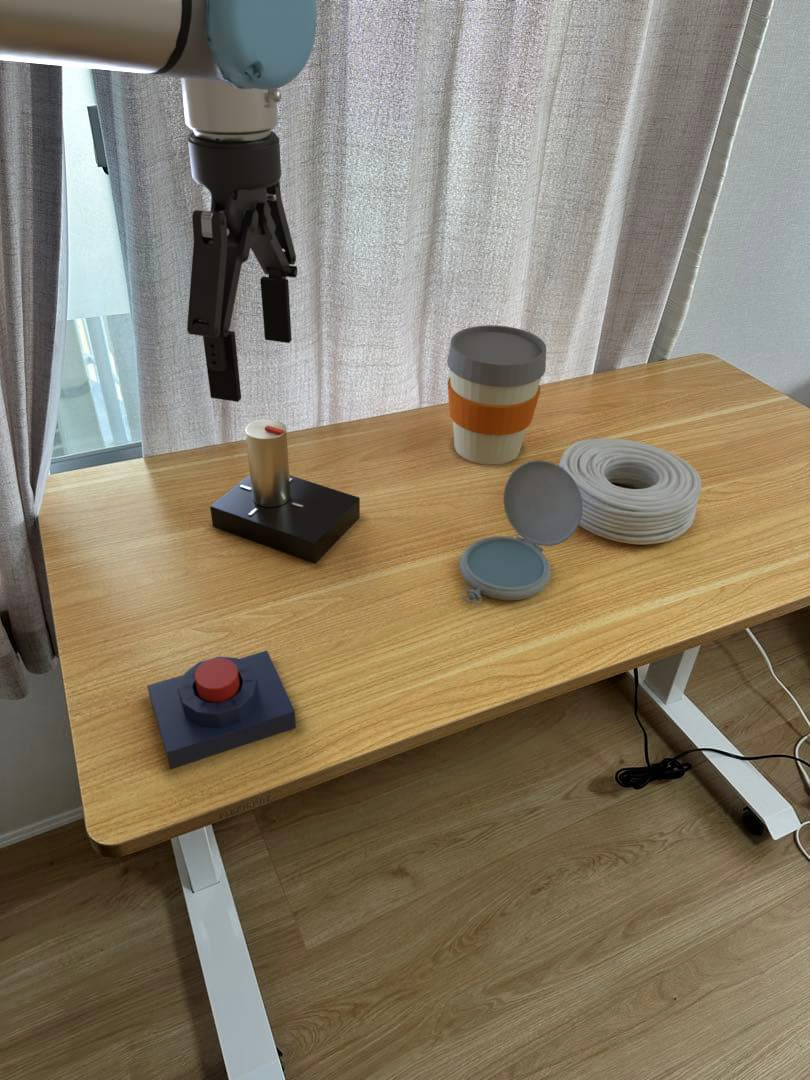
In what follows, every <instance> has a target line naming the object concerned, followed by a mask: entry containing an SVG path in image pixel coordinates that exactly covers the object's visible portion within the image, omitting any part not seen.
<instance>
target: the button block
mask: <svg viewBox="0 0 810 1080" xmlns="http://www.w3.org/2000/svg"><path fill="white" fill-rule="evenodd" d="M215 658H223V659H228V660H230V661H232V662H233V663H234V664H235V665H236V666H237V669H238V676H239V683H240V685H239V689H238V691H237V693H236V694H235V695H234V696H233V697H232V698H230V699H229V700H226V701H223V702H219V703H212V702H207V701H205V700H203V699H202V698H201V697H200V696H199V695H198V692H197V687H196V682H195V672H196V670H197V669H198V667H199V666H200V665H201V664H203V663H204V662H206V661H208V660H211V659H215ZM146 686H147V691H148V696H149V700H150V703H151V704H150V705H151V708H152V711H153V715H154V718H155V721H156V725H157V728H158V731H159V735H160V738H161V742H162V746H163V749H164V753H165V756H166V759H167V763H168V767H169V769H170V770H173V769H176V768H180V767H182V766H185V765H189V764H191V763H193V762H197V761H201V760H204V759H206V758H209V757H212V756H215V755H218V754H221V753H224V752H227V751H230V750H234V749H235V748H239V747H242V746H245V745H248V744H252V743H254V742H257V741H260V740H263V739H266V738H270V737H273V736H275V735H278V734H281V733H284V732H288V731H291V730H294V729H296V728H297V720H296V719H297V718H296V710H295V708H294V706H293V704H292V701H291V699H290V697H289V695H288V693H287V691H286V689H285V686H284V685H283V682H282V680H281V678H280V676H279V674H278V671H277V669H276V667H275V665H274V662H273V660H272V658H271V656H270V654H269V652H268V650H264V651H261V652H257V653H254V654H250V655H247V656H243V657H240V658H238V657H229V656H221V655H220V656H219V655H218V656H215V657H212V658H208V659H205V660H201V661H198V662H197V663H196V664H194V665H193V666H192V667H191V668H189V669H188V670H186V672H184V674H181V675H179V676H175V677H171V678H168V679H165V680H161V681H158V682H154V683H151V684H147V685H146Z"/></svg>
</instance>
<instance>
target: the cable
mask: <svg viewBox="0 0 810 1080" xmlns="http://www.w3.org/2000/svg"><path fill="white" fill-rule="evenodd" d="M558 466H560V467H561V468H563V469H564V470H566V471H567V472H568V473H569V474H570V475H571V477H572V478H573V479H574V481H575V482H576V484H577V486H578V488H579V490H580V493H581V497H582V505H583V509H582V517H581V520H580V523H579V526H578V527H581V528H583V529H584V530H586V531H588V532H590V533H592V534H594V535H596V536H599V537H601V538H603V539H607V540H610V541H613V542H617V543H623V544H629V545H655V544H656V545H657V544H661V543H667V542H670V541H673V540H675V539H677V538H679V537H680V536H682V535H683V534H684V533H686V532H687V531H688V530H689V529H690V528H691V526H692V525H693V523H694V521H695V519H696V514H697V510H698V509H697V508H698V503H699V498H700V493H701V491H702V480H701V477H700V474H699V472H698V471H697V470H696V468H694V466H693V465H692V464H690V463H689V462H687V461H686V460H685V459H683V458H682V457H680V456H678V455H676V454H674V453H672V452H669V451H667V450H665V449H663V448H660V447H657V446H654V445H651V444H648V443H645V442H639V441H637V440H636V441H635V440H630V439H623V438H610V437H609V438H606V437H605V438H603V437H602V438H601V437H599V438H587V439H580V440H578V441H575V442H573V443H571V444H570V445H568V447H567V448H566V449H565V450H564V451H563V453H562V456H561V458H560V461H559V464H558ZM613 483H614V484H613ZM615 484H619V485H625V486H628V487H632V488H628V487H627V488H626V487H623V486H618V485H615Z"/></svg>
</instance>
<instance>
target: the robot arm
mask: <svg viewBox="0 0 810 1080" xmlns="http://www.w3.org/2000/svg"><path fill="white" fill-rule="evenodd" d="M317 16H318V7H317V0H0V61H7V62H8V61H9V62H19V63H31V64H41V65H52V66H61V67H63V66H64V67H73V68H82V69H83V68H84V69H94V70H95V69H96V70H106V71H116V72H128V73H135V74H136V73H138V74H148V75H153V76H159V77H168V78H177V79H178V78H179V79H180V85H181V95H182V105H183V114H184V123H185V125H186V126H187V127H188V128H189V129H190V130H192V132H191V133H190V134H189V136H188V138H187V145H188V152H189V153H188V154H189V160H190V171H191V176H192V179H193V181H195V183H197V185H200V186H202V187H204V188H205V189H207V190H208V191H209V193H210V205H209V210H200V209H199V210H198V209H194V210H193V212H192V215H191V216H192V217H191V218H192V219H191V220H192V230H193V235H192V236H193V247H192V260H191V261H192V262H191V271H190V272H191V273H190V286H189V298H188V309H187V310H188V312H187V323H186V324H187V325H186V327H187V328H186V330H187V333H188V335H191V336H199V337H202V339H203V347H204V354H205V362H206V363H205V364H206V369H207V370H206V371H207V379H208V386H209V395H210V399H216V400H222V401H223V400H224V401H230V402H236V403H239V402H240V401H241V400H242V389H241V381H240V371H239V361H238V351H237V350H238V349H237V342H236V341H237V340H236V331H235V330H230V328H231V324H232V318H233V313H234V307H235V301H236V298H237V292H238V286H239V281H240V277H241V270H242V265H243V263H245V262H247V261H248V260H249V256H250V251H252V253H253V255H254V257H255V258H256V260H257V262H258V264H259V267H260V268H261V270H262V271H263V273H264V275H268V276H264V275H263V276H262V277H260V279H259V280H260V293H261V294H260V295H261V307H262V320H263V332H264V333H263V334H264V340H265V341H271V342H278V343H286V344H290V343H291V342H292V340H293V339H292V338H293V337H292V322H291V307H290V306H291V304H290V303H291V301H290V287H289V286H290V285H289V279H288V278H293V279H296V278H297V276H298V266H297V265H295V264H296V262H297V256H296V250H295V246H294V243H293V238H292V235H291V230H290V228H289V227H290V226H289V223H288V220H287V215H286V211H285V208H284V203H283V200H282V189H281V181H280V180H281V178H282V163H281V161H282V159H281V145H280V137H279V136H278V135H277V133H275V132H274V131H273V130H274V129H275V128H276V127H277V126H278V124H279V123H278V122H279V120H278V119H279V118H278V106H277V105H278V103H280V101H282V95H283V94H282V91H281V90H280V89H281V88H283V87H285V86H286V85H288V84H290V83H291V82H292V81H294V80H295V79H296V78H297V77H299V75H300V74H301V73H302V72H303V70H304V69H305V67H306V65H307V63H308V62H309V60H310V57H311V55H312V52H313V49H314V45H315V42H316V29H317V27H318V25H317V23H318V22H317Z"/></svg>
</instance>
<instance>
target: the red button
mask: <svg viewBox="0 0 810 1080" xmlns="http://www.w3.org/2000/svg"><path fill="white" fill-rule="evenodd" d="M214 658H215V657H214ZM210 659H211V658H210ZM207 660H208V659H207ZM195 682H196V687H197V692H198V695H199V696H200V697H201V698H202V699H203V700H205V701H207V702H212V703H219V702H223V701H226V700H229V699H230V698H232V697H233V696H234V695H235V694H236V693H237V691H238V689H239V685H240V683H239V676H238V669H237V666H236V665H235V664H234V663H233V662H232V661H230V660H228V659H223V658H215V659H211V660H208V661H206V662H204V663H203V664H201V665H200V666H199V667H198V669H197V670H196V672H195Z"/></svg>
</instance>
